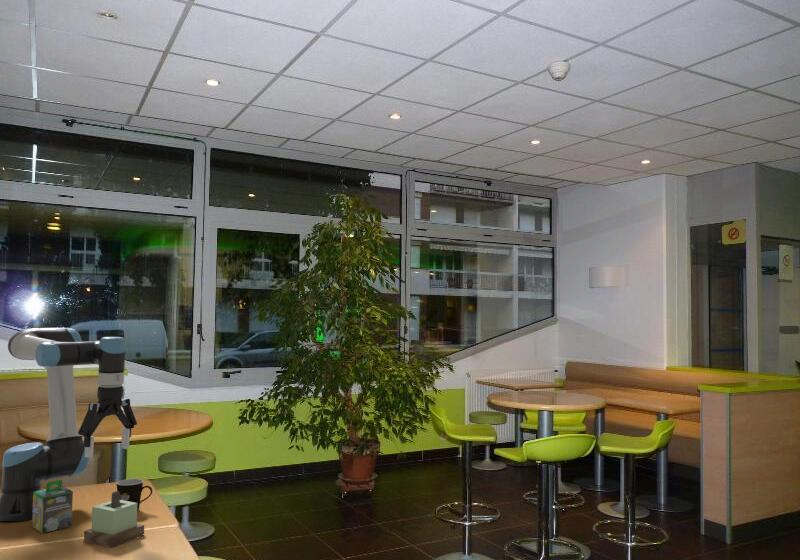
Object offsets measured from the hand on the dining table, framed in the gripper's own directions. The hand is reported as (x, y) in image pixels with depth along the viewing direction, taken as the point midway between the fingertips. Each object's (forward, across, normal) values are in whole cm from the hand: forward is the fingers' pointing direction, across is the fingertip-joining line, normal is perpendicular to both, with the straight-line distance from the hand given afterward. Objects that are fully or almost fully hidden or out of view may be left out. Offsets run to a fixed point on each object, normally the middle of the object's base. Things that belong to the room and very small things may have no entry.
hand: (107, 452), depth 202 cm
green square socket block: (+21, -3, -8) cm, 23 cm away
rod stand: (+24, -3, -8) cm, 26 cm away
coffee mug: (+25, +18, +8) cm, 32 cm away
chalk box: (+25, -5, +18) cm, 31 cm away
